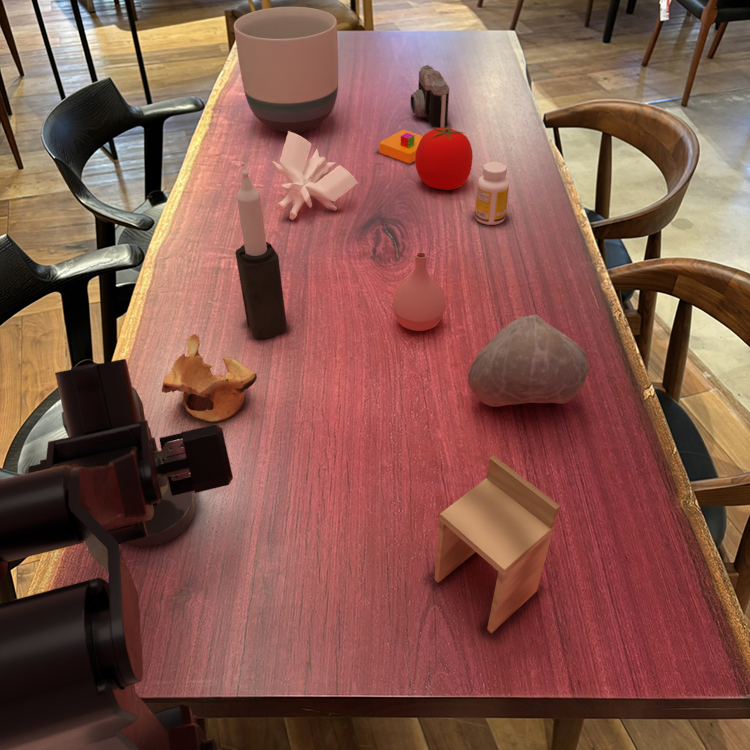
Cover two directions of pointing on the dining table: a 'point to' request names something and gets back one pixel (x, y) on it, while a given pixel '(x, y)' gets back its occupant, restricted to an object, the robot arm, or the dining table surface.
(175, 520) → the trivet
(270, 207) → the dining table surface
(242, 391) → the bone
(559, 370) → the decorative stone
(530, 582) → the miniature wooden chair
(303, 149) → the figurine
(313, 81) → the planter
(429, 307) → the pink bud vase
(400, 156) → the orange square tile
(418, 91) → the camera
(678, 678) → the dining table surface
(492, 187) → the supplement bottle
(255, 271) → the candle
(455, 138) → the tomato
